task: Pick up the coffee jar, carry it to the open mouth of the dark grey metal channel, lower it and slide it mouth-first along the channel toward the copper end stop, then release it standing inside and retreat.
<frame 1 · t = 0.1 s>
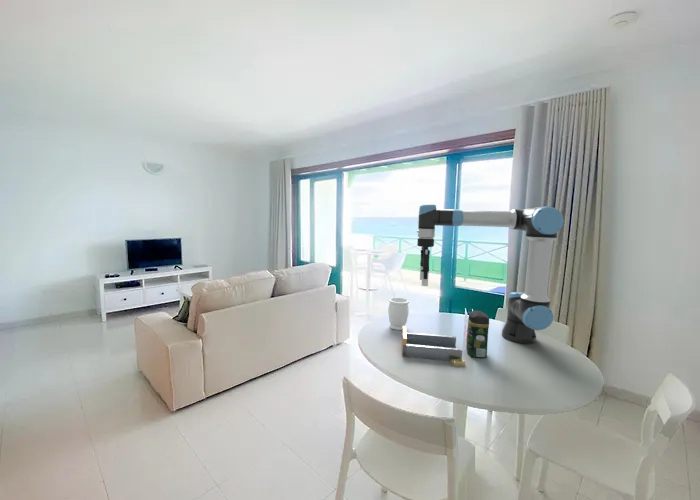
hand: (423, 282, 145), 28 cm above the table, fingers open, 13 cm apart
coffee jar: (476, 354, 134), on the table
jar: (397, 327, 164), on the table
channel: (429, 351, 135), on the table
brass key block: (457, 365, 124), on the table
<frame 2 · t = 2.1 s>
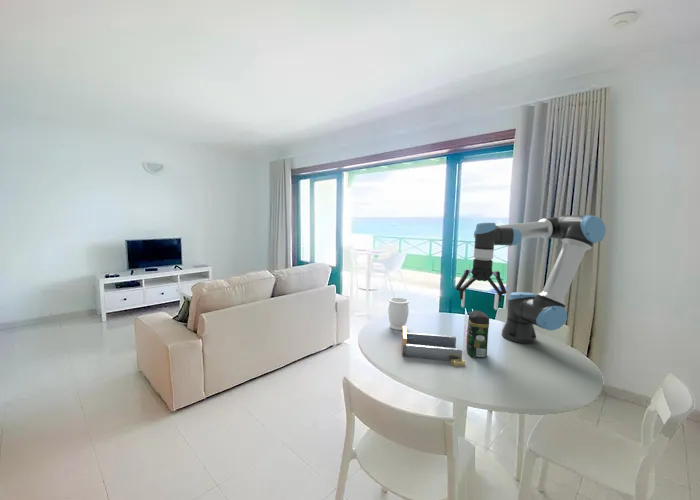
hand: (478, 307, 132), 21 cm above the table, fingers open, 13 cm apart
nothing on the table moved.
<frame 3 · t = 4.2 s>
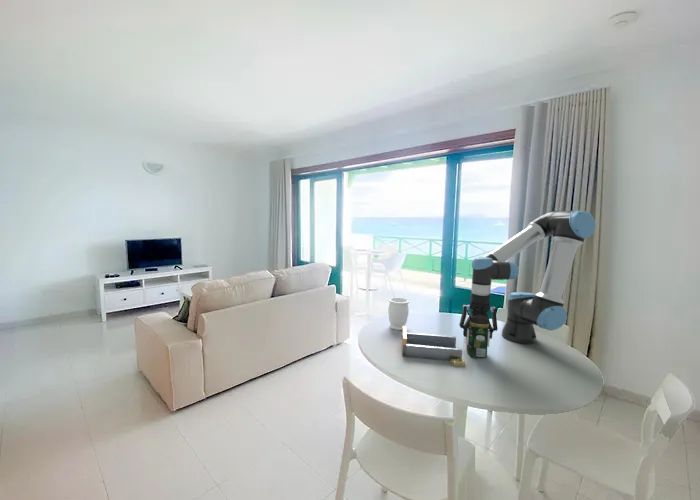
hand: (476, 344, 134), 4 cm above the table, fingers closed on coffee jar, 8 cm apart
coffee jar: (476, 354, 134), on the table, touching gripper
everything else where it was.
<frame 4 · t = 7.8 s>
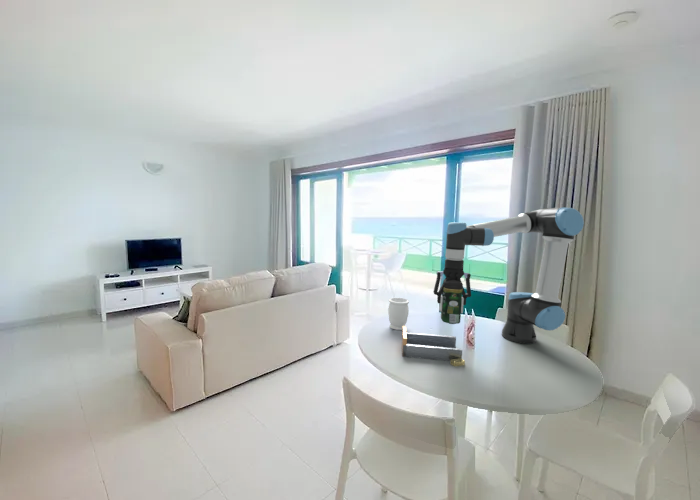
hand: (450, 311, 132), 19 cm above the table, fingers closed on coffee jar, 8 cm apart
coffee jar: (450, 321, 133), point 14 cm above the table, touching gripper
everything else where it was.
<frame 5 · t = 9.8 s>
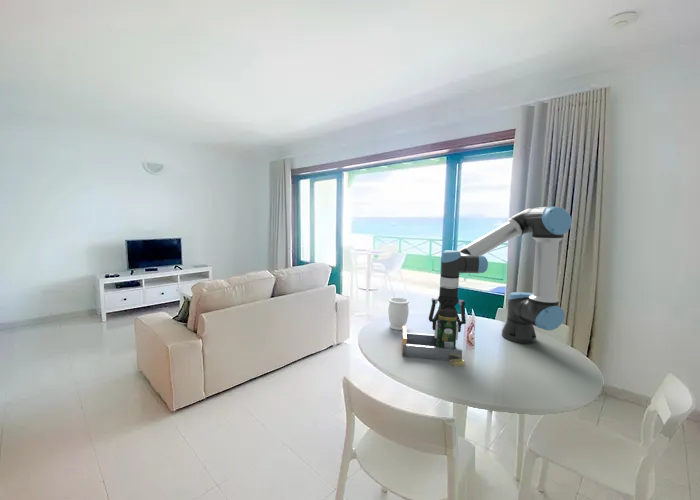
hand: (445, 337, 134), 7 cm above the table, fingers closed on coffee jar, 8 cm apart
coffee jar: (445, 347, 134), point 2 cm above the table, touching gripper
everything else where it was.
when the fingers open (7 cm above the table, at t = 11.5 s): coffee jar drops 1 cm, resting on channel.
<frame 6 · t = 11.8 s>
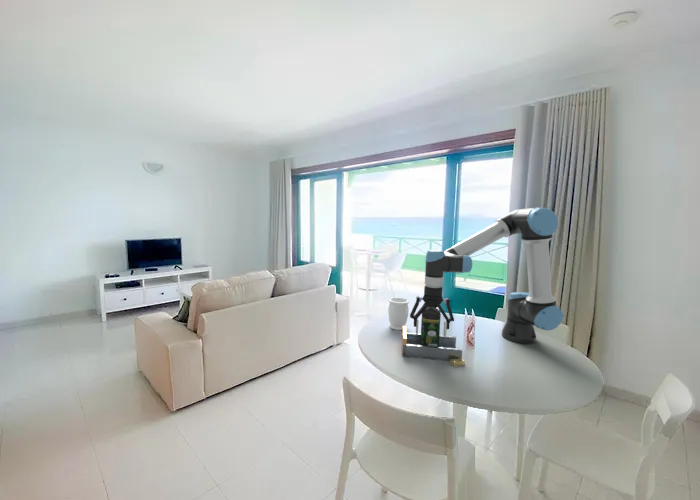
hand: (430, 334, 135), 8 cm above the table, fingers open, 11 cm apart
coffee jar: (429, 349, 135), point 1 cm above the table, touching channel
everything else where it was.
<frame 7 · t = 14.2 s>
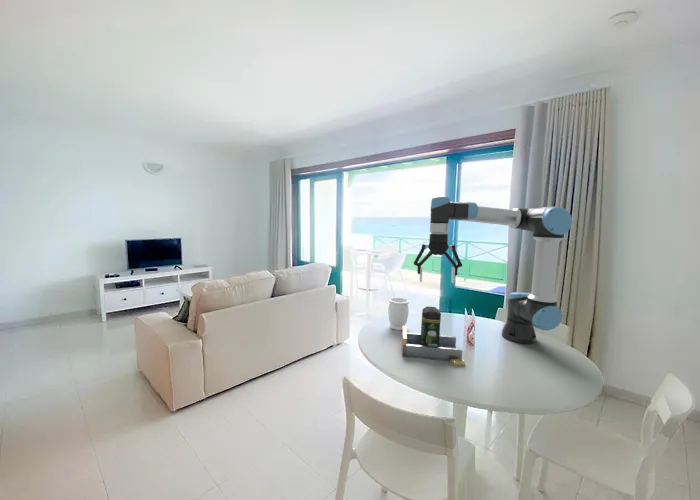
hand: (436, 282, 134), 31 cm above the table, fingers open, 13 cm apart
nothing on the table moved.
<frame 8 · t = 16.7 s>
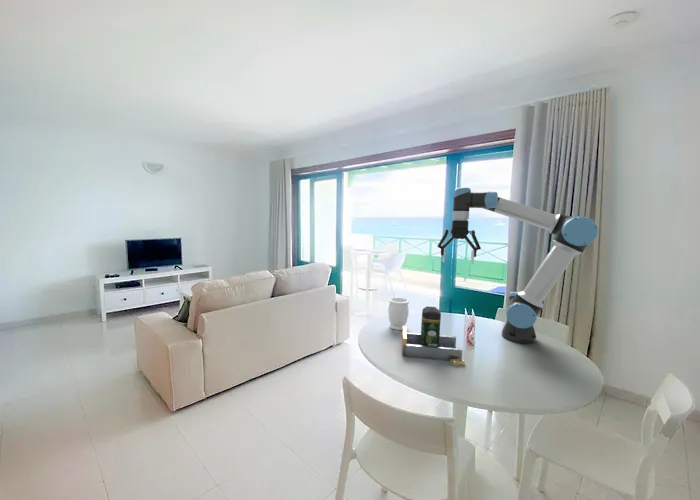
hand: (457, 262, 153), 37 cm above the table, fingers open, 13 cm apart
nothing on the table moved.
at the end: coffee jar inside the target area on the channel (2.6 cm from its centre), point 0.8 cm above the channel's base; coffee jar tilted 0°; the gripper is holding nothing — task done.
